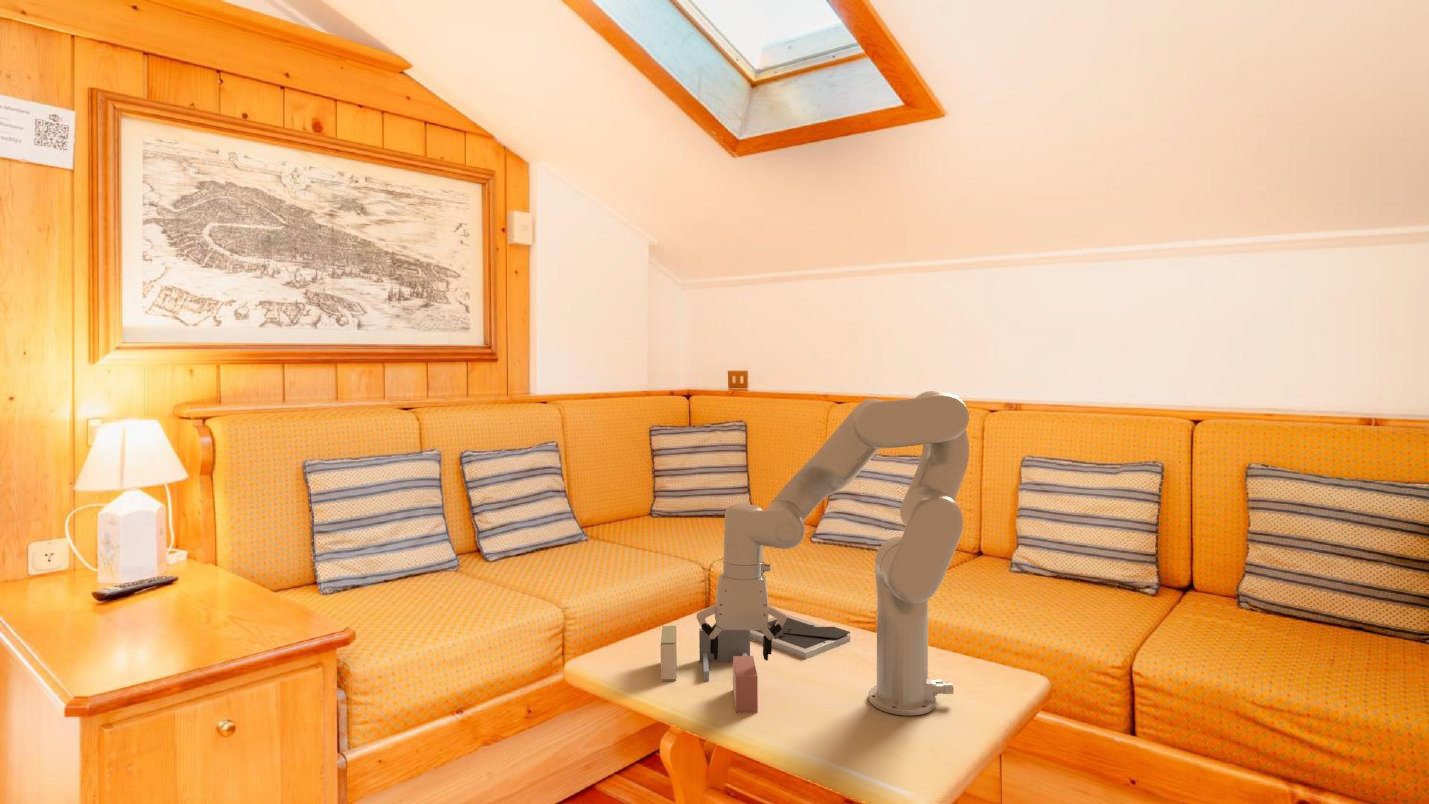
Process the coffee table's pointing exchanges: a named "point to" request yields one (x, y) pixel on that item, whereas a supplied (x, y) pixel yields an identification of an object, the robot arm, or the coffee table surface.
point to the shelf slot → (724, 647)
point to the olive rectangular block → (668, 653)
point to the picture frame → (803, 637)
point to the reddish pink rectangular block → (745, 684)
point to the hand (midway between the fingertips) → (740, 657)
